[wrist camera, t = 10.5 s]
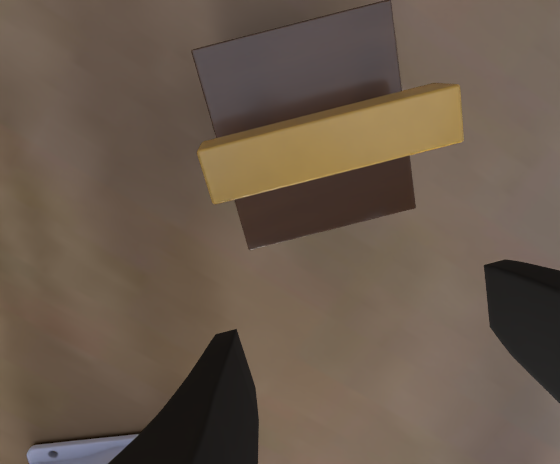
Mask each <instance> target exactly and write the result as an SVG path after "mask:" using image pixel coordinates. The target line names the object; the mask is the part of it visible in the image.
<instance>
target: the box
mask: <svg viewBox="0 0 560 464" xmlns="http://www.w3.org/2000/svg"><path fill="white" fill-rule="evenodd" d="M191 52H192V55H193V59H194V62H195V66H196V69H197V73H198V76H199V80H200V83H201V86H202V90H203V93H204V97H205V100H206V104H207V107H208V111H209V114H210V117H211V121H212V124H213V128H214V131H215V135H216V138H215V139H211V140H207V141H204V142H202V144H201V145H200V147H199V149H198V151H197V155H198V158H199V162H200V165H201V168H202V171H203V174H204V178H205V181H206V184H207V187H208V191H209V194H210V197H211V200H212V203H213V204H220V203H224V202H228V201H232V200H235V204H236V207H237V211H238V214H239V217H240V221H241V224H242V228H243V231H244V235H245V238H246V242H247V245H248V248H249V250H252V249H256V248H260V247H264V246H268V245H271V244H275V243H279V242H283V241H287V240H291V239H295V238H299V237H303V236H307V235H311V234H315V233H319V232H323V231H327V230H331V229H335V228H339V227H343V226H347V225H351V224H355V223H359V222H363V221H366V220H370V219H374V218H378V217H382V216H386V215H390V214H394V213H398V212H402V211H406V210H410V209H414V208H416V204H415V196H414V188H413V180H412V171H411V163H410V155H413V154H417V153H421V152H425V151H429V150H433V149H437V148H441V147H445V146H449V145H453V144H457V143H460V142H462V141H463V140H464V135H463V121H462V107H461V93H460V86H459V85H458V84H444V83H432V84H428V85H424V86H420V87H416V88H412V89H408V90H404V91H402V88H401V80H400V72H399V64H398V55H397V47H396V39H395V30H394V22H393V14H392V5H391V0H385V1H381V2H377V3H373V4H369V5H365V6H361V7H357V8H353V9H349V10H346V11H342V12H338V13H334V14H330V15H326V16H322V17H318V18H314V19H310V20H306V21H302V22H299V23H295V24H291V25H287V26H283V27H279V28H275V29H271V30H267V31H263V32H259V33H256V34H252V35H248V36H244V37H240V38H236V39H232V40H228V41H224V42H220V43H216V44H212V45H209V46H205V47H201V48H197V49H193V50H191Z"/></svg>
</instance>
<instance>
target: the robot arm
mask: <svg viewBox="0 0 560 464" xmlns="http://www.w3.org/2000/svg"><path fill="white" fill-rule="evenodd" d="M484 270H485V280H486V291H487V301H488V312H489V322H490V328H491V329H492V330H493V332H494V333H495V334H496V336H497V337H498V339H499V340H500V341H501V343H502V344H503V345H504V346H505V348H506V349H507V350H508V351H509V353H510V354H511V355H512V356H513V357H514V358H515V359H516V360H517V361H518V362H519V363H520V364H521V365H522V366H523V367H524V368H525V369H526V370H527V371H528V372H529V373H530V374H531V375H532V376H533V377H534V378H535V379H536V380H537V381H538V382H539V383H540V384H541V385H542V386H543V387H544V388H545V389H546V390H547V391H548V392H549V393H550V394H551V395H552V396H553V397H554V398H555V399H556V400H557V401H558V402H559V403H560V271H559V270H555V269H550V268H546V267H542V266H538V265H533V264H528V263H524V262H518V261H513V260H502V261H498V262H494V263H490V264H486V265H484ZM258 429H259V419H258V408H257V398H256V389H255V385H254V382H253V379H252V376H251V372H250V369H249V366H248V363H247V360H246V357H245V354H244V351H243V348H242V345H241V342H240V338H239V335H238V332H237V329H235V330H231V331H227V332H223V333H219V334H216V335H215V336H214V338H213V339H212V340H211V342H210V344H209V345H208V347H207V348H206V350H205V351H204V353H203V354H202V356H201V357H200V359H199V360H198V362H197V363H196V365H195V366H194V368H193V369H192V371H191V372H190V374H189V375H188V377H187V378H186V379H185V381H184V382H183V383H182V385H181V386H180V387H179V388H178V390H177V391H176V392H175V394H174V395H173V396H172V398H171V399H170V400H169V401H168V403H167V404H166V405H165V406H164V408H163V409H162V410H161V411H160V412H159V413H158V415H157V416H156V417H155V418H154V419H153V420H152V421H151V422H150V423H149V424H148V425H147V426H146V428H145V429H144V430H143V431H142V432H141V433H140V434H134V435H124V436H115V437H105V438H95V439H86V440H76V441H67V442H57V443H48V444H38V445H33V446H32V447H30V449H29V451H28V452H27V459H28V462H29V464H258ZM53 451H55V452H53Z"/></svg>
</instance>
